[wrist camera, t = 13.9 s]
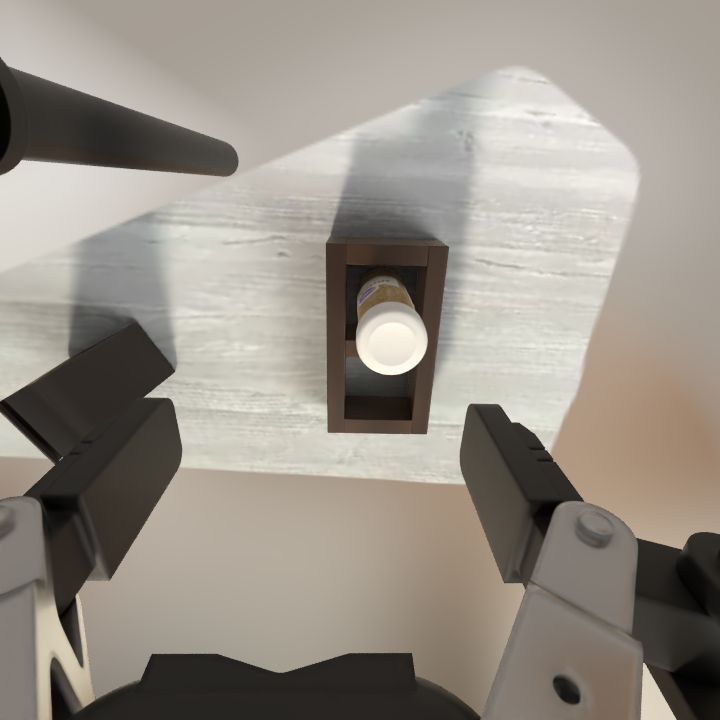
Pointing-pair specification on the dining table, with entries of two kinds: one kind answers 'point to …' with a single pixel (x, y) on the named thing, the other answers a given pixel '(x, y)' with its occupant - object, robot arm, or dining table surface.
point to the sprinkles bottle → (388, 324)
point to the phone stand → (86, 391)
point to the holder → (341, 338)
